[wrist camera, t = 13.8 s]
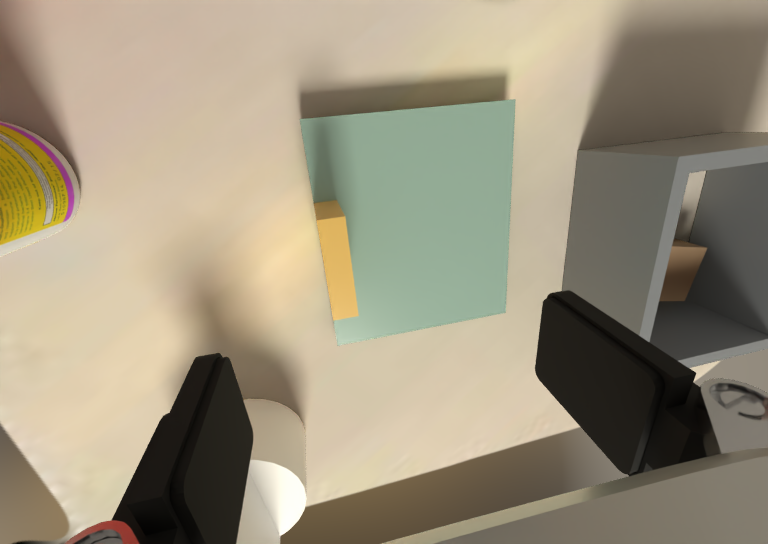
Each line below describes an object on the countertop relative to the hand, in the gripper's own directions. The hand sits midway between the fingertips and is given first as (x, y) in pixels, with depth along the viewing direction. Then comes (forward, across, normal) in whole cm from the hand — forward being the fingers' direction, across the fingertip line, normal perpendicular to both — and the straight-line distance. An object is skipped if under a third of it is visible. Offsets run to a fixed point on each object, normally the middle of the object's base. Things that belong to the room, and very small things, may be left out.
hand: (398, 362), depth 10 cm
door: (+17, -5, +1) cm, 18 cm away
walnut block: (+17, -28, +8) cm, 33 cm away
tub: (+17, -26, +5) cm, 31 cm away
